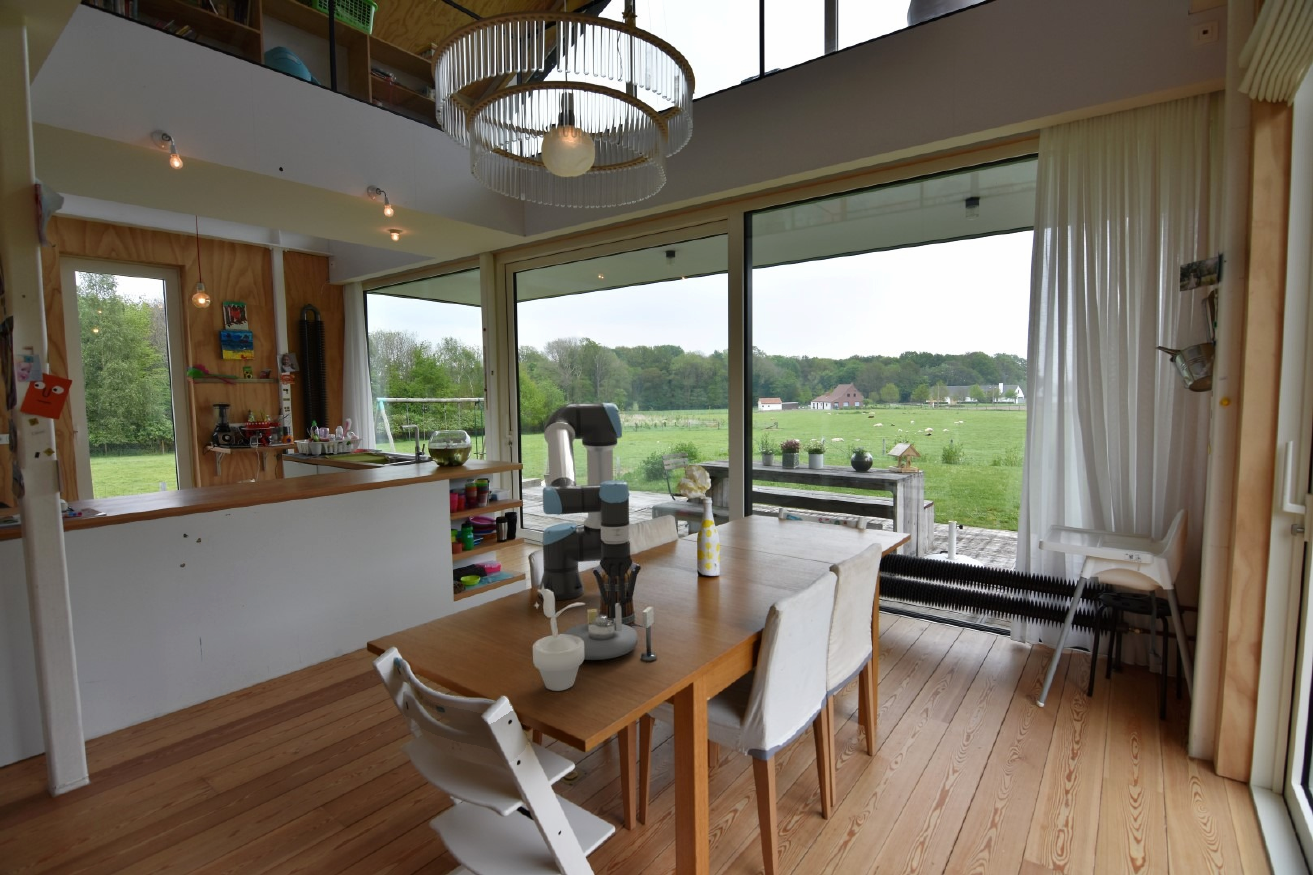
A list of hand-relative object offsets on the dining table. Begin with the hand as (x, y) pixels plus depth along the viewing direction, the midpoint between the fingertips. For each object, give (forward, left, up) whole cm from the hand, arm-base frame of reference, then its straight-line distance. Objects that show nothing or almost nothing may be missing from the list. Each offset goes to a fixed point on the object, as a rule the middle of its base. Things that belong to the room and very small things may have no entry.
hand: (617, 629), depth 160 cm
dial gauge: (+8, +5, -5) cm, 11 cm away
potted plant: (+17, -17, -5) cm, 25 cm away
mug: (-20, +5, -5) cm, 21 cm away
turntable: (0, -5, -3) cm, 6 cm away
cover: (0, -4, -1) cm, 4 cm away
